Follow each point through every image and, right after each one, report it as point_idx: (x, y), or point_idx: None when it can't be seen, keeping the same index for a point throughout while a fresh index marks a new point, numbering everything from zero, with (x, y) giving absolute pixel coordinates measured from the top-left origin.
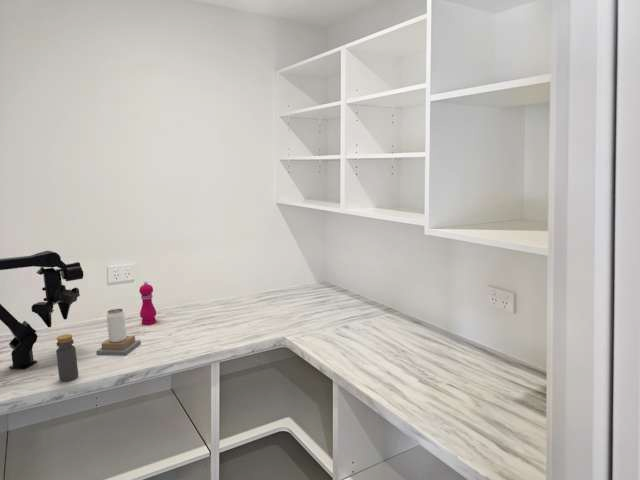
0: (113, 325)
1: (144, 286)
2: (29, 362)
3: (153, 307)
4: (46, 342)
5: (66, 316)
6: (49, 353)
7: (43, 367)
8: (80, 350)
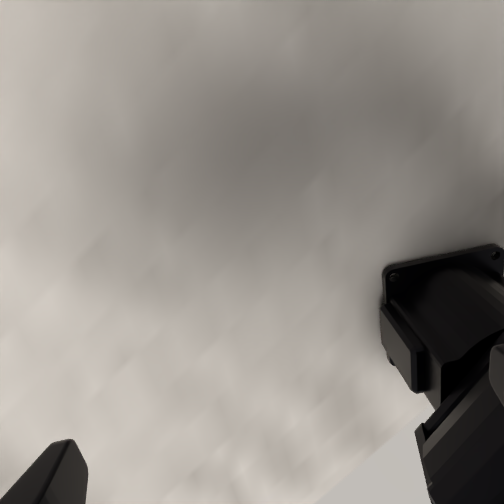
0: None
1: None
2: (458, 271)
3: None
4: None
5: (45, 480)
6: (233, 316)
7: (464, 144)
8: (105, 130)
